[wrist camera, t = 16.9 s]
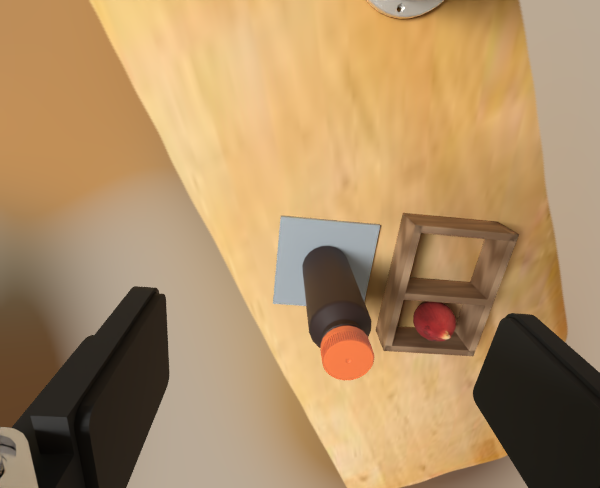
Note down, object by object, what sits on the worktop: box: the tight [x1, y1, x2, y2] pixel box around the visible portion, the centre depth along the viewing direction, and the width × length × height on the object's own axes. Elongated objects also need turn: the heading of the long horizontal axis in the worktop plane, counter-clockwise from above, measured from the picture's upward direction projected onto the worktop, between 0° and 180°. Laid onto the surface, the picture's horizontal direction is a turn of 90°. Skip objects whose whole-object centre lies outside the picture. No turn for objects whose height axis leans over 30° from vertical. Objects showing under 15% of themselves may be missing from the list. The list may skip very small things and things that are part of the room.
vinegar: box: [302, 246, 374, 380], centre depth 42 cm, size 7×7×20 cm
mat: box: [273, 216, 380, 306], centre depth 51 cm, size 14×14×1 cm
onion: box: [413, 301, 456, 341], centre depth 52 cm, size 6×6×8 cm
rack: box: [376, 213, 519, 356], centre depth 51 cm, size 20×14×5 cm
